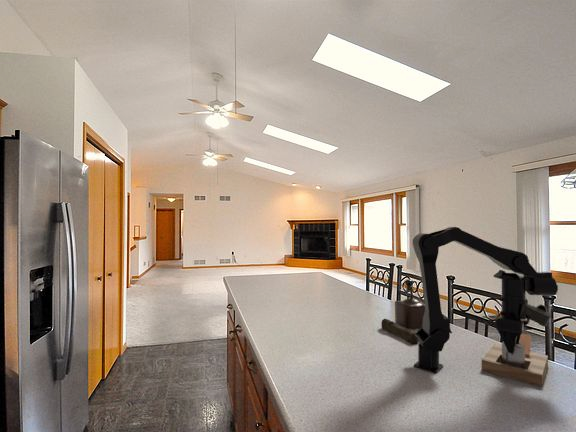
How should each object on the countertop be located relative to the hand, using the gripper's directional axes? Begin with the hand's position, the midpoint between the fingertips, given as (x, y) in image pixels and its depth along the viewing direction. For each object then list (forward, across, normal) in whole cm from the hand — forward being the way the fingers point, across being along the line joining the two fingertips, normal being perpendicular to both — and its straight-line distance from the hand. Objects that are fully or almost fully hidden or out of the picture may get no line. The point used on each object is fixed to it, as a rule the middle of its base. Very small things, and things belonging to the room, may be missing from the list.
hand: (513, 348), depth 94 cm
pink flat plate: (+1, +10, 0) cm, 10 cm away
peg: (+7, 0, 0) cm, 7 cm away
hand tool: (+7, +6, +38) cm, 39 cm away
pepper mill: (+7, +26, +41) cm, 49 cm away
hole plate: (+7, +4, 0) cm, 8 cm away
